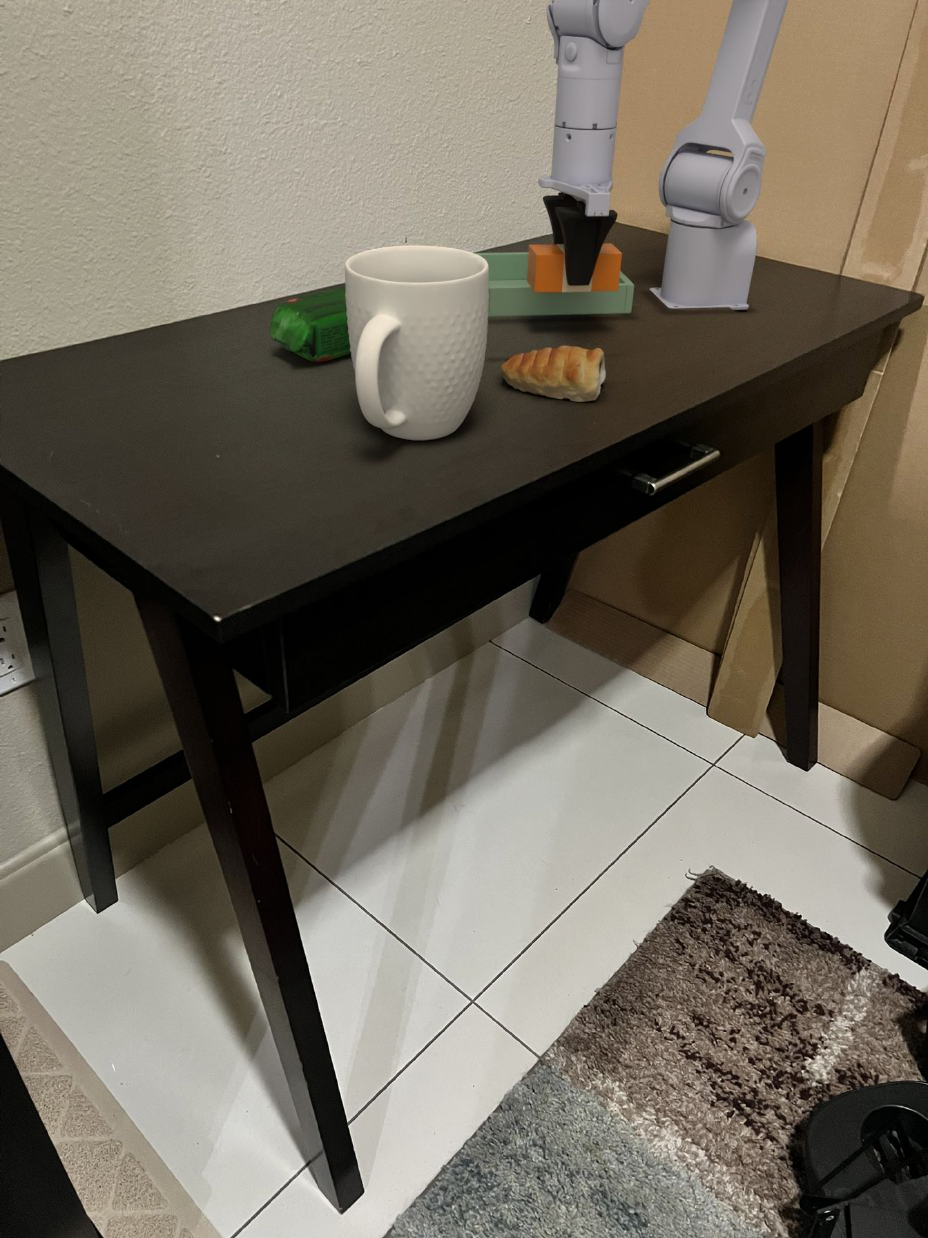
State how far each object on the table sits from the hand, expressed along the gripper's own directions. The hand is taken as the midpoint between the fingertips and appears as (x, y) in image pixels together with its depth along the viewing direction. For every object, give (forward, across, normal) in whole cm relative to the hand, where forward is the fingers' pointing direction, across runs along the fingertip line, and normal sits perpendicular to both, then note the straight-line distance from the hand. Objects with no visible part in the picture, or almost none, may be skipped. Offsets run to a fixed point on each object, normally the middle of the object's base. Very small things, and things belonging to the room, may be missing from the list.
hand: (572, 278), depth 93 cm
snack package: (+6, +1, -23) cm, 24 cm away
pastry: (+6, +14, -4) cm, 16 cm away
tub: (+6, -13, 0) cm, 14 cm away
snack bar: (+1, 0, 0) cm, 1 cm away
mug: (+6, +22, -18) cm, 29 cm away
